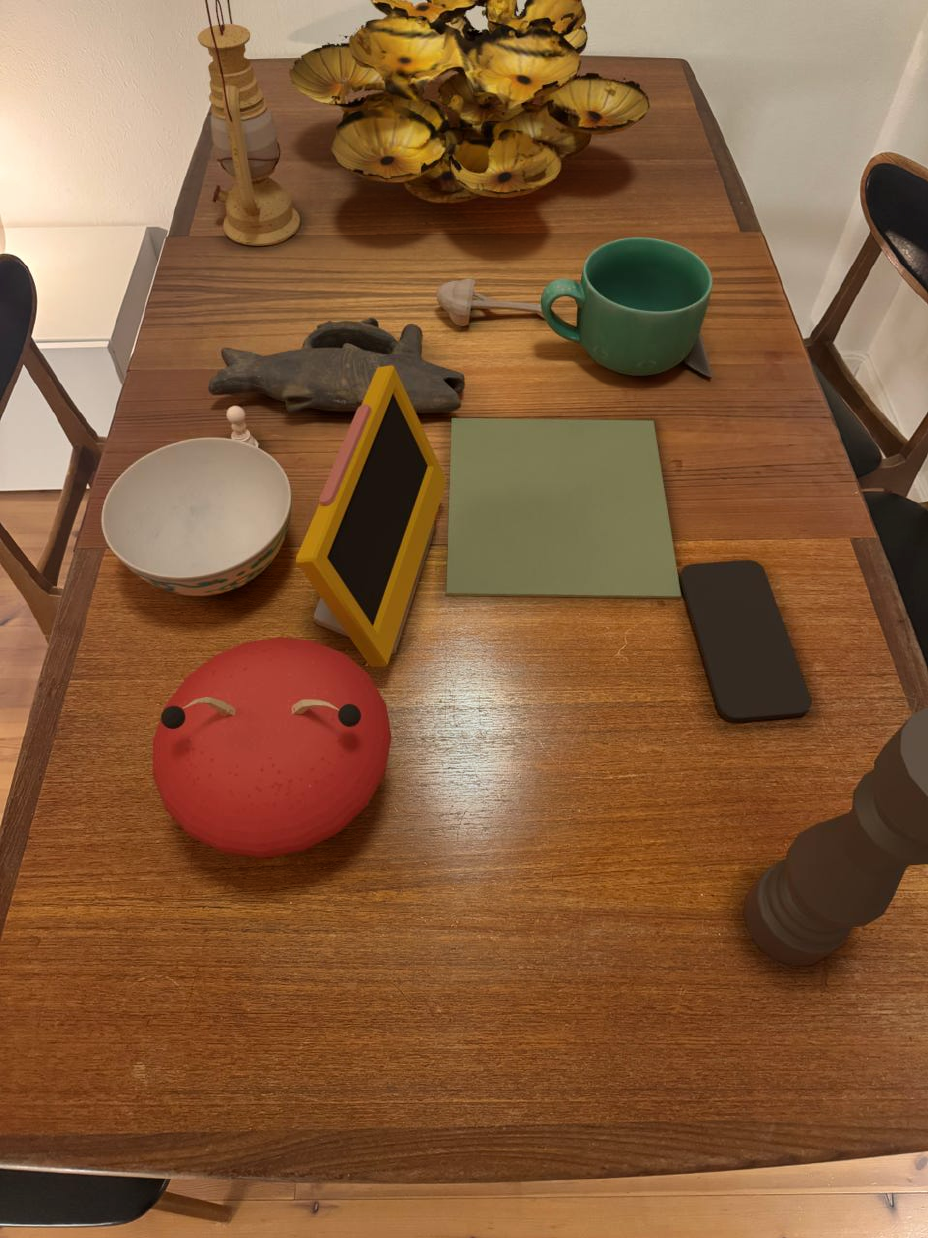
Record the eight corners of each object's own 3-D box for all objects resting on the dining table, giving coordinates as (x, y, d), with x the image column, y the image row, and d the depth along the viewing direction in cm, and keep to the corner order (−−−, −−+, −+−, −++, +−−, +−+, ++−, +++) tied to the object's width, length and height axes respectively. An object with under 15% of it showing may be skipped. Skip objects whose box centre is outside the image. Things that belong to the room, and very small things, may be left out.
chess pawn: (223, 448, 84) (210, 409, 80) (246, 433, 86) (235, 394, 81) (241, 463, 83) (230, 424, 79) (264, 448, 84) (254, 408, 80)
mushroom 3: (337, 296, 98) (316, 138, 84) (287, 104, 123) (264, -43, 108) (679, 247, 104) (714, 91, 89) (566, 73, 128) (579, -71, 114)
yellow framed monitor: (390, 690, 69) (373, 568, 56) (295, 671, 70) (258, 547, 57) (448, 505, 80) (445, 368, 67) (365, 491, 81) (347, 353, 68)
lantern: (225, 197, 109) (156, -102, 84) (303, 196, 109) (258, -102, 85) (212, 254, 102) (133, -53, 78) (296, 252, 103) (244, -54, 78)
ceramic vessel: (459, 396, 81) (474, 313, 91) (195, 371, 82) (238, 291, 92) (457, 440, 85) (472, 355, 95) (205, 416, 86) (246, 334, 96)
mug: (684, 316, 96) (704, 236, 88) (699, 393, 89) (722, 314, 81) (534, 313, 96) (540, 234, 89) (537, 390, 89) (544, 311, 81)
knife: (665, 297, 98) (666, 291, 97) (700, 296, 98) (702, 291, 97) (684, 380, 90) (686, 375, 89) (723, 380, 90) (725, 374, 90)
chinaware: (295, 487, 82) (281, 425, 75) (314, 616, 73) (300, 559, 67) (131, 512, 80) (102, 451, 73) (131, 648, 71) (99, 592, 65)
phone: (722, 719, 67) (677, 564, 75) (720, 724, 68) (675, 570, 76) (816, 711, 67) (761, 558, 76) (813, 716, 68) (758, 564, 76)
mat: (652, 423, 87) (653, 420, 86) (680, 598, 74) (681, 596, 74) (451, 420, 87) (451, 417, 86) (446, 595, 75) (446, 593, 74)
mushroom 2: (167, 898, 60) (91, 816, 48) (198, 697, 69) (141, 583, 56) (397, 890, 60) (381, 806, 48) (398, 691, 69) (385, 577, 57)
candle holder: (821, 984, 57) (1027, 852, 36) (730, 936, 59) (878, 784, 38) (846, 901, 60) (1050, 735, 39) (760, 858, 62) (911, 677, 41)
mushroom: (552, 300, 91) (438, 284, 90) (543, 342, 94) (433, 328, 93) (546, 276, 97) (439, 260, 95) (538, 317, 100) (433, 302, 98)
